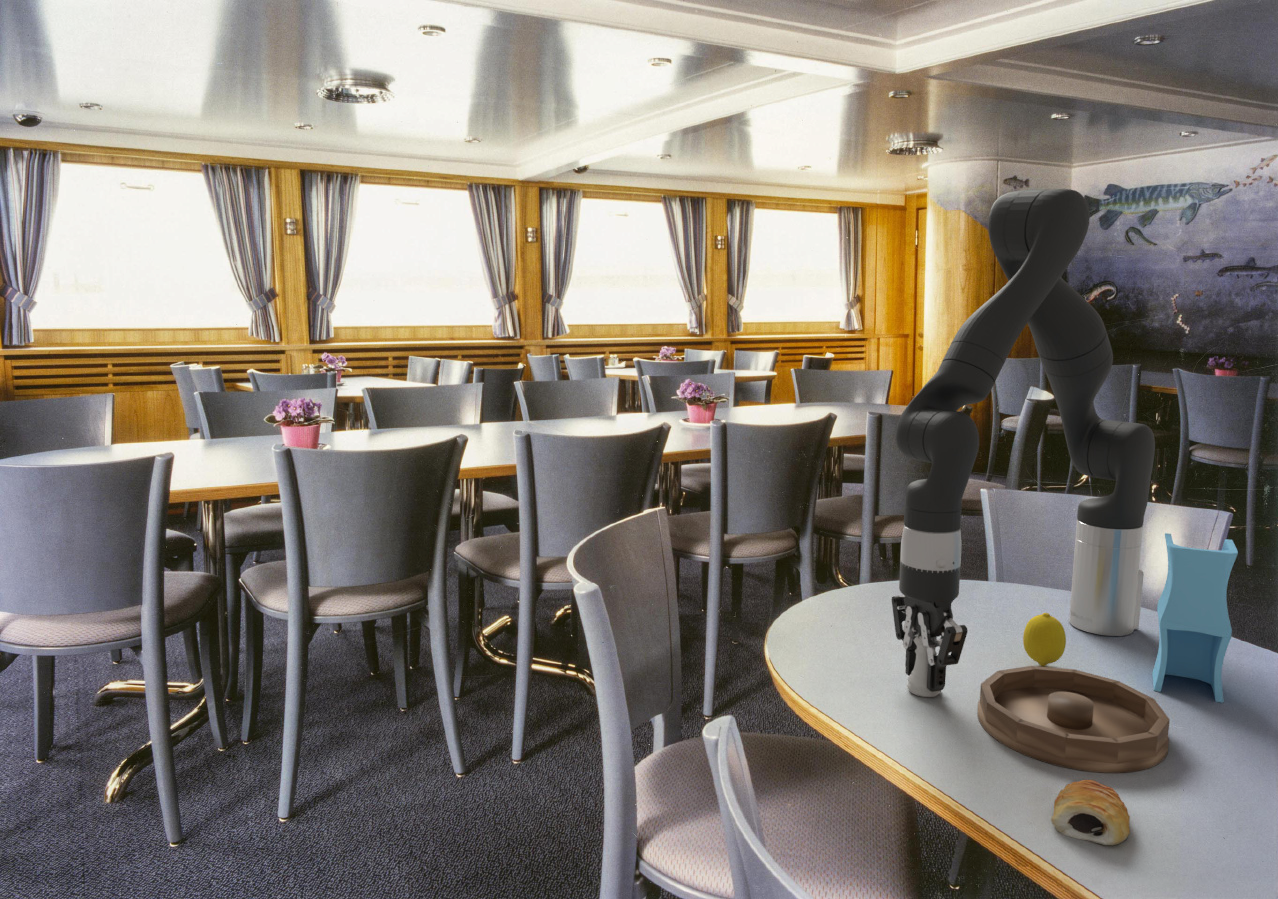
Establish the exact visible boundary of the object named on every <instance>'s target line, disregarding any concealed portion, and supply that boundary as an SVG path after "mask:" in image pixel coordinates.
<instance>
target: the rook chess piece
mask: <svg viewBox="0 0 1278 899" xmlns="http://www.w3.org/2000/svg"><path fill="white" fill-rule="evenodd" d="M937 639H938V637H931V640H937ZM914 642H915V644H916V645H917V649H916V650H915V653H916V661H915V666H914V669H913V670H912V672H911V674H910V675H909V676H908V677H907V681H908V683H907V684H906V687H907V689H908V691H909V692H910V693H911V694H912V695H915V696H918V697H922V698H934V697H937V696H938V695H940V693H941V692H942V690H941V691H935V692H931V691H930V690H928V689H927V671H928V664H929V662H928V654H927V648H926V647H924V645H923V641H922V635H921V633H920V632H918V634H917V637H916V638H915V639H914ZM936 655H938V652H936Z"/></svg>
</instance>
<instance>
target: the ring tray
mask: <svg viewBox="0 0 1278 899" xmlns="http://www.w3.org/2000/svg"><path fill="white" fill-rule="evenodd" d="M977 719H978V721H979V723H980V725H981V726H982V728H983V729H984V731H986V732H987V734H989V735H990V736H991V737H992V738H994V739H995V740H996V741H998V742H999V743H1001V744H1003V745H1004V746H1005V747H1008V748H1009V749H1011V750H1013V751H1015V752H1017V753H1020V754H1022V755H1024V756H1026V757H1029V758H1031V759H1034V760H1037V761H1040V762H1044V763H1047V764H1050V765H1054V766H1058V767H1062V768H1067V769H1071V770H1077V771H1083V772H1091V773H1102V774H1103V773H1105V774H1107V773H1108V774H1121V773H1125V774H1126V773H1133V772H1140V771H1144V770H1147V769H1150V768H1153V767H1156V766H1157V765H1159V764H1160V763H1162V762H1163V761H1164V760H1165V759H1166V758H1167V756H1168V753H1169V745H1170V738H1169V729H1170V721H1171V720H1170V718H1169V717H1168V715H1167V714H1166V713H1165V712H1164V710H1163V709H1162V707H1161V706H1160V705H1159V703H1158V702H1157V701H1156V699H1155V698H1153V697H1151V696H1149V695H1148V694H1144V693H1143V692H1141V691H1139V690H1137V689H1135V688H1133V687H1131V686H1130V685H1128V684H1126V683H1124V682H1121V680H1120V681H1119V680H1117V679H1116V680H1115V679H1112V678H1109V677H1105V676H1101V675H1098V674H1093V673H1089V672H1085V671H1083V670H1082V671H1081V670H1077V669H1072V668H1064V667H1063V668H1061V667H1049V666H1040V665H1037V666H1035V665H1028V666H1021V667H1014V668H1007V669H1001V670H997V671H995V672H994V673H993V674H992V675H990V676H989V677H988V678H986V679H985V680H984V681H982V682H981V683H980V694H979V701H978V704H977Z"/></svg>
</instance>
